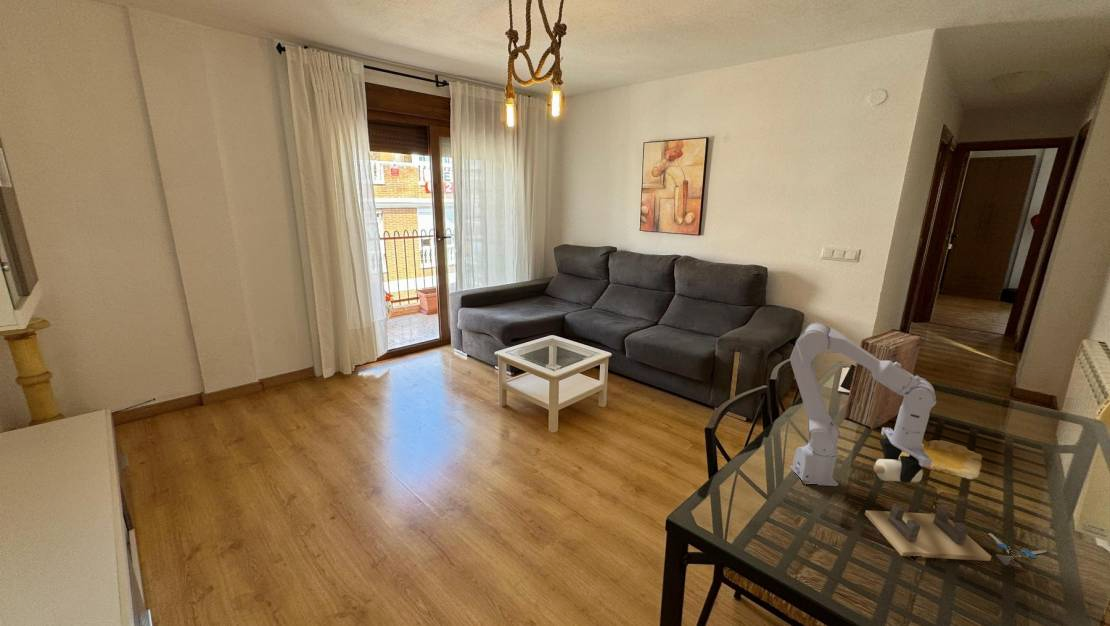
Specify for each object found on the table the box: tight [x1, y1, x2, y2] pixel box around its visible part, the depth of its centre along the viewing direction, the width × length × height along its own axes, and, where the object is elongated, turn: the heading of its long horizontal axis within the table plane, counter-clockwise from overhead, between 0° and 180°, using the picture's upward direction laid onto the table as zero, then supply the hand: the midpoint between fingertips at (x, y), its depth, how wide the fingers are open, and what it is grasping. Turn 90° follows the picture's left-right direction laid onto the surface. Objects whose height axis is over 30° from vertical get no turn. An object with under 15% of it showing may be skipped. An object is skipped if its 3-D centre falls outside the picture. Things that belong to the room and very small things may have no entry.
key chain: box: [987, 532, 1048, 569], centre depth 101 cm, size 14×8×1 cm, turn 114°
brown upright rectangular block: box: [843, 328, 924, 431], centre depth 156 cm, size 25×9×30 cm, turn 123°
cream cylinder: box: [873, 458, 924, 483], centre depth 113 cm, size 11×5×5 cm, turn 88°
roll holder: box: [864, 504, 992, 562], centre depth 103 cm, size 19×13×6 cm
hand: (897, 474), depth 113 cm, fingers closed on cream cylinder, 5 cm apart
